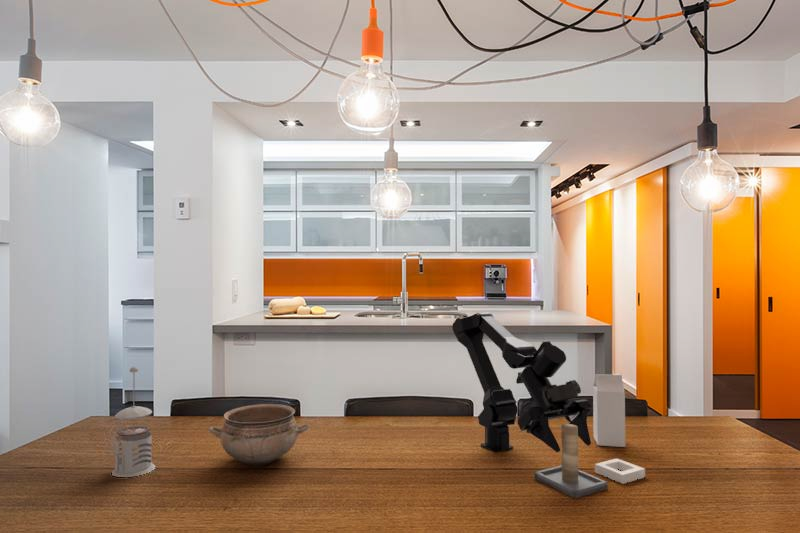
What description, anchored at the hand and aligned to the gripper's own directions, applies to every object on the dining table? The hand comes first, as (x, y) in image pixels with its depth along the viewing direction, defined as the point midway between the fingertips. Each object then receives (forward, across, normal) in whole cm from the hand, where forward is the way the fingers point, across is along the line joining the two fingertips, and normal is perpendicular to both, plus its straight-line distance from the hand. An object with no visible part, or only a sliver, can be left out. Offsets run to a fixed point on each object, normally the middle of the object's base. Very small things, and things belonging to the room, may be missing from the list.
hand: (574, 448), depth 115 cm
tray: (+5, 0, +7) cm, 8 cm away
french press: (-32, -89, +44) cm, 105 cm away
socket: (+6, +14, +6) cm, 16 cm away
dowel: (+4, 0, +6) cm, 8 cm away
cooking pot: (-27, -60, +40) cm, 77 cm away
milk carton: (-6, +30, +18) cm, 36 cm away
